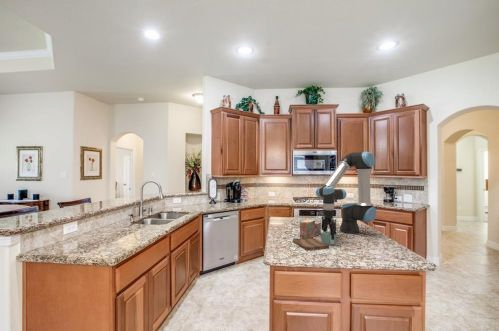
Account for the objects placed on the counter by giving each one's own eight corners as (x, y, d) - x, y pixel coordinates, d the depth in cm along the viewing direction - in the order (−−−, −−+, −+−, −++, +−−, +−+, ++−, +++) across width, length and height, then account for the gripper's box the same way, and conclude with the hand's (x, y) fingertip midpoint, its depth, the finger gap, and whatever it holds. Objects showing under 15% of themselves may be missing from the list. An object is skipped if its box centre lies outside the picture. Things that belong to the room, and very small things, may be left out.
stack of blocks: (313, 232, 206) (313, 217, 206) (321, 234, 202) (321, 218, 202) (299, 238, 191) (299, 221, 191) (307, 239, 186) (307, 222, 186)
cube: (330, 241, 181) (330, 231, 182) (336, 244, 175) (336, 233, 175) (321, 242, 179) (321, 232, 179) (327, 245, 173) (327, 234, 173)
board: (312, 240, 185) (312, 237, 185) (329, 248, 166) (329, 245, 166) (292, 241, 180) (292, 239, 180) (307, 250, 161) (307, 247, 161)
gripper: (316, 207, 186) (316, 239, 186) (332, 212, 167) (332, 247, 167) (325, 206, 188) (325, 238, 188) (342, 211, 169) (342, 246, 169)
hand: (328, 242), depth 177 cm, fingers closed on cube, 7 cm apart
